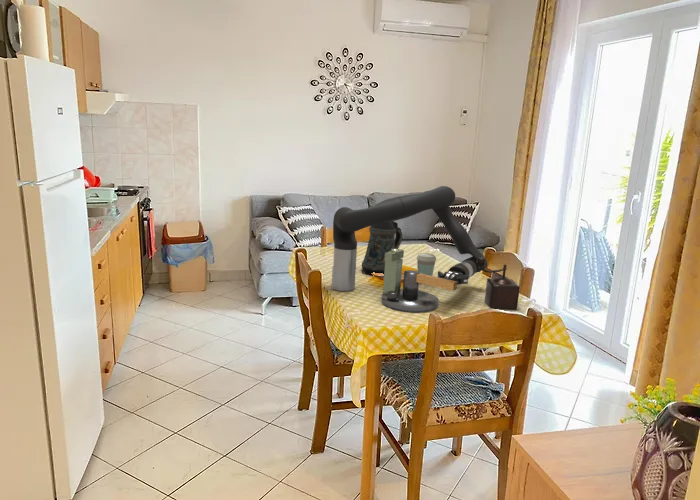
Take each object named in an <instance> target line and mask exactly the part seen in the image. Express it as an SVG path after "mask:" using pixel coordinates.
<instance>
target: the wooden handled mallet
mask: <svg viewBox="0 0 700 500" xmlns="http://www.w3.org/2000/svg"><path fill="white" fill-rule="evenodd" d="M420 284H423V285H428V286H432V287H436V288H441V289H444V290H447V291H452V292H455V291H456V290H457V285H458V284H457V281H452V280H448V279H443V278H439V277H438V276H436V275H435V276H434V275H432V276H430V275H426V274H421V273H420V272H418V270H413V269H409V270H408V269H407V270H404V271H403V282H402V289H403V293H402V297H403V298H404V299H408V300H415V299H418V290H419V287H420ZM419 291H420V290H419Z"/></svg>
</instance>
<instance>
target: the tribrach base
mask: <svg viewBox="0 0 700 500" xmlns="http://www.w3.org/2000/svg"><path fill="white" fill-rule="evenodd" d="M404 253H405V250H404V249H400V248H398V249H392V251H390V252H387V253H385V260H384V261H385V271H384V277H383V288H382V294H381V296H380V299H381V300H380V302H381V304H382V305H383V306H385V307H386V308H389V309H391V310H395V311H398V312H405V313H413V314H414V313H419V314H420V313H428V312H429V313H430V312H432V311H435V310H436V309H438V308H439V303H440V302H439V301H440V300H439V298H438V297H437V296H436V295H434V294H433V293H429V292H428V291H427V292H426V291H422V290H418V299H415V300H408V299H404V298H403V297H402V293H403V288H401V285H402V275H403V260H404V255H405V254H404Z"/></svg>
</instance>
